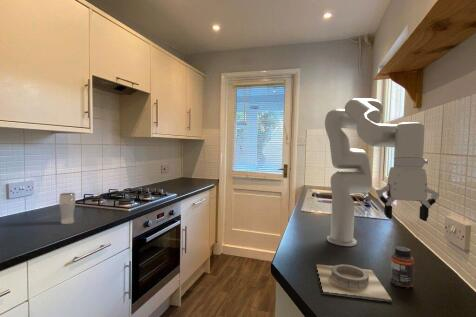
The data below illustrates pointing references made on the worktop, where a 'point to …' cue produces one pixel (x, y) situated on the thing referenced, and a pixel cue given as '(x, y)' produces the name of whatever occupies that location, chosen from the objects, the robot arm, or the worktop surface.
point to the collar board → (351, 281)
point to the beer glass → (67, 207)
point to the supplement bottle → (402, 267)
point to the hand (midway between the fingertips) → (405, 218)
